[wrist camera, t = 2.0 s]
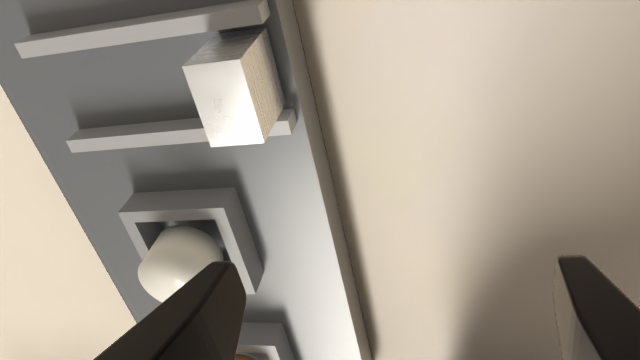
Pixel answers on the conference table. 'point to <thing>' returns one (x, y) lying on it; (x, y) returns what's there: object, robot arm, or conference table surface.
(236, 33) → the block
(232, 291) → the robot arm
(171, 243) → the white button
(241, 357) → the orange button
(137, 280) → the control panel
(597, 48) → the conference table surface
